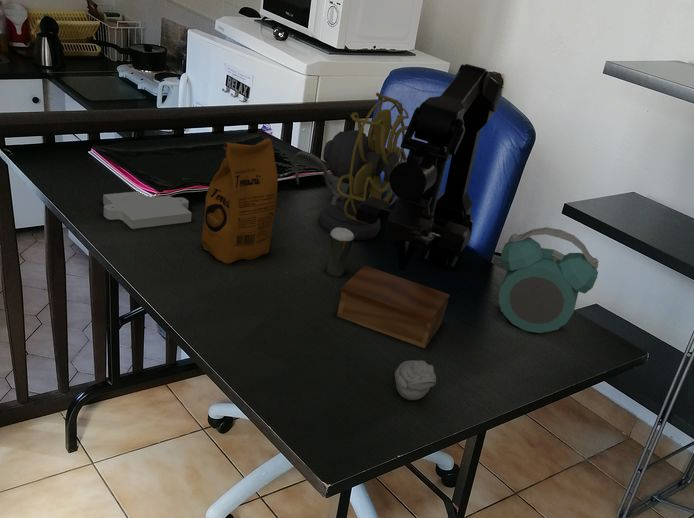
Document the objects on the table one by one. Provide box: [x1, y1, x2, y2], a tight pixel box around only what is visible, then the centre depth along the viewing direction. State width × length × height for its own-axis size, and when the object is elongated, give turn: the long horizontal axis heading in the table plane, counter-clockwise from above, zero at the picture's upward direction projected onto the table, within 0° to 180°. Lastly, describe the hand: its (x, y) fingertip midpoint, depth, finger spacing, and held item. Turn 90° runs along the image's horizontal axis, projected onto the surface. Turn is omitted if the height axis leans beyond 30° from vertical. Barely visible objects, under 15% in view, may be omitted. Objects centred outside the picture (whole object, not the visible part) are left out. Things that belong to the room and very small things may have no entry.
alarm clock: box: [498, 226, 599, 334], centre depth 140 cm, size 17×10×20 cm, turn 71°
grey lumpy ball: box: [394, 359, 437, 401], centre depth 114 cm, size 6×7×7 cm
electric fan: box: [292, 92, 414, 241], centre depth 165 cm, size 26×32×30 cm
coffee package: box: [200, 138, 279, 264], centre depth 142 cm, size 10×12×22 cm
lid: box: [340, 265, 451, 324], centre depth 133 cm, size 11×17×1 cm
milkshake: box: [326, 228, 360, 277], centre depth 146 cm, size 4×5×10 cm
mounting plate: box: [102, 190, 193, 230], centre depth 155 cm, size 18×13×2 cm
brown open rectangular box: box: [336, 292, 449, 349], centre depth 134 cm, size 11×17×5 cm, turn 68°
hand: (402, 269), depth 130 cm, fingers closed
